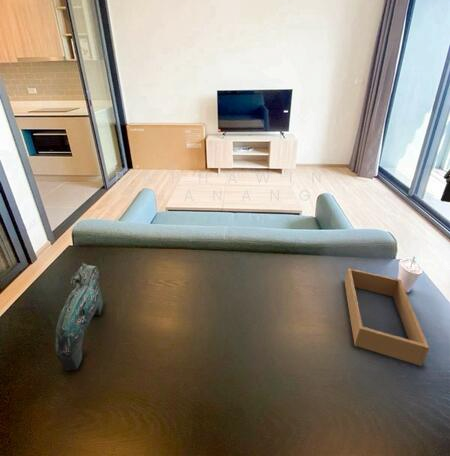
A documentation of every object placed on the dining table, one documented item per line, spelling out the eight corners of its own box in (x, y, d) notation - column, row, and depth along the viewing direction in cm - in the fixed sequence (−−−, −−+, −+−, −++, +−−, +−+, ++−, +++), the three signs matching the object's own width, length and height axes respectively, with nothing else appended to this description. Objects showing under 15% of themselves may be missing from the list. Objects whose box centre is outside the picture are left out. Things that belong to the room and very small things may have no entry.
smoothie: (390, 288, 85) (401, 256, 80) (394, 277, 89) (404, 246, 84) (413, 299, 81) (425, 266, 76) (415, 287, 85) (427, 255, 80)
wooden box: (395, 295, 82) (400, 279, 80) (421, 366, 63) (429, 348, 60) (344, 283, 87) (348, 267, 84) (354, 345, 67) (359, 328, 65)
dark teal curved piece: (91, 302, 79) (78, 253, 72) (111, 300, 80) (100, 252, 73) (57, 374, 61) (35, 319, 54) (84, 372, 61) (66, 316, 54)
